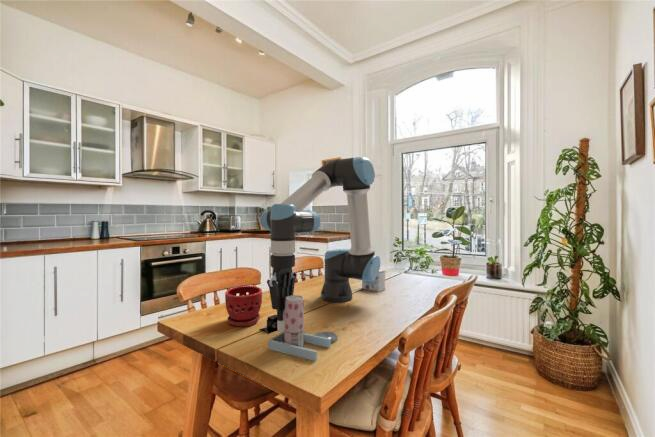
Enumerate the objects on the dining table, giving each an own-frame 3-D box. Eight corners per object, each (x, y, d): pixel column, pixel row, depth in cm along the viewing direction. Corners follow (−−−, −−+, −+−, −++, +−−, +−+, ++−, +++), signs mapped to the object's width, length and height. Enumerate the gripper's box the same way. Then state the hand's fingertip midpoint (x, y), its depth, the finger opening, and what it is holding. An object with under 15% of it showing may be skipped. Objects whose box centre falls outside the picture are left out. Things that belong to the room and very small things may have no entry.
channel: (286, 336, 97) (286, 329, 97) (330, 346, 90) (330, 338, 90) (268, 348, 88) (268, 340, 88) (315, 361, 82) (315, 352, 81)
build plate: (265, 337, 97) (265, 324, 97) (252, 331, 102) (252, 318, 102) (293, 327, 107) (294, 314, 107) (280, 321, 112) (280, 309, 111)
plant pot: (219, 321, 110) (219, 289, 110) (252, 313, 119) (252, 283, 118) (233, 332, 100) (233, 297, 100) (268, 323, 109) (268, 290, 108)
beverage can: (294, 340, 94) (294, 293, 94) (307, 346, 90) (307, 297, 90) (280, 346, 90) (280, 297, 90) (293, 352, 86) (293, 301, 86)
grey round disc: (319, 331, 101) (319, 329, 101) (341, 336, 98) (341, 334, 98) (308, 340, 94) (308, 338, 94) (331, 345, 91) (331, 343, 91)
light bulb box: (361, 288, 159) (361, 268, 159) (368, 286, 164) (368, 266, 164) (378, 292, 152) (379, 271, 152) (385, 289, 157) (385, 269, 157)
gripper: (284, 250, 99) (284, 320, 99) (259, 255, 87) (259, 335, 88) (304, 252, 95) (303, 324, 96) (280, 257, 84) (280, 340, 84)
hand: (282, 329), depth 92 cm, fingers closed
